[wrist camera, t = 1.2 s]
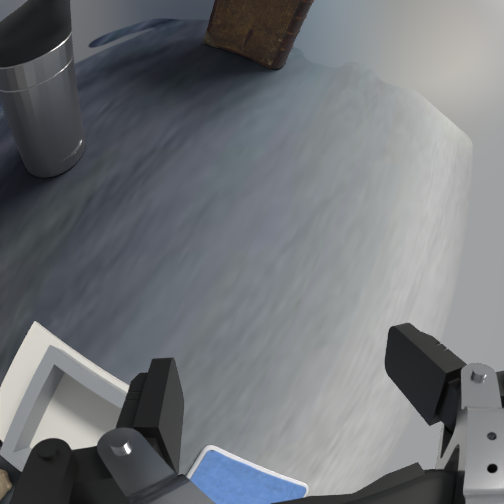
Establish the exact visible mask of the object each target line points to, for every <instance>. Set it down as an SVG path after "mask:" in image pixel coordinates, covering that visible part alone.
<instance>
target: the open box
mask: <svg viewBox="0 0 504 504" xmlns="http://www.w3.org/2000/svg"><path fill="white" fill-rule="evenodd" d="M128 389H129V385H127V384H126V383H124V382H122V381H121V380H119V379H117V378H116V377H114V376H113V375H111V374H109V373H108V372H106V371H105V370H103V369H102V368H100V367H98V366H97V365H95V364H94V363H92V362H91V361H89V360H88V359H86V358H85V357H84V356H82V355H81V354H79V353H78V352H76V351H75V350H73V349H72V348H71V347H69V346H68V345H67V344H65V343H64V342H62V341H61V340H60V339H58V338H57V337H56V336H54V335H53V334H52V333H50V332H49V331H48V330H47V329H45V328H44V327H43V326H41V325H40V324H39V323H37V322H36V321H34V323H33V325H32V326H31V328H30V330H29V332H28V334H27V335H26V337H25V339H24V341H23V343H22V345H21V347H20V348H19V350H18V352H17V354H16V356H15V358H14V360H13V362H12V364H11V366H10V368H9V370H8V372H7V374H6V376H5V379H4V381H3V383H2V385H1V387H0V440H1V441H2V442H3V445H2V447H1V450H0V455H1V456H2V457H4V458H5V459H6V460H7V461H8V462H9V463H11V464H12V465H13V466H14V467H16V468H17V469H18V470H19V471H21V472H22V471H23V468H24V466H25V464H26V461H27V459H28V457H29V454H30V452H31V450H32V448H33V447H34V446H35V445H36V444H37V443H39V442H40V441H42V440H45V439H48V438H58V439H62V440H64V441H65V442H67V443H68V445H69V446H70V448H71V449H72V450H74V449H81V448H87V447H93V446H97V443H98V441H99V439H100V438H101V436H103V435H104V434H105V433H107V432H108V431H110V430H113V429H115V428H116V424H117V421H118V418H119V415H120V412H121V410H122V407H123V404H124V401H125V398H126V395H127V393H128Z"/></svg>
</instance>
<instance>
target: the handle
mask: <svg viewBox="0 0 504 504" xmlns="http://www.w3.org/2000/svg"><path fill="white" fill-rule="evenodd" d="M11 488H12V483H11V482H10V480H9V477H8V473H7V472H6V471H5V470H1V469H0V500H1V499H2V498H3V497H4V496H5V494H6V493H7V492H8V490H10V489H11Z"/></svg>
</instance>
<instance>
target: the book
mask: <svg viewBox="0 0 504 504" xmlns="http://www.w3.org/2000/svg"><path fill="white" fill-rule="evenodd" d="M313 2H314V0H215V2H214V6H213V10H212V13H211V16H210V20H209V25H208V28H207V31H206V34H205V38H204V43H205V44H208V45H210V46H213V47H216V48H220V49H223V50H226V51H229V52H232V53H235V54H238V55H241V56H243V57H246V58H249V59H251V60H253V61H255V62H257V63H259V64H261V65H263V66H266V67H268V68H275V69H277V68H281V67H283V66H284V65H285V64H286V60H287V57H288V55H289V52H290V50H291V49H292V48H293V43H294V41H295V39H296V36H297V35H298V33H299V32H300V28H301V26H302V23H303V21H304V19H305V18H306V16H307V13H308V11H309V9H310V6H311V4H312V3H313Z"/></svg>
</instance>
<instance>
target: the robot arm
mask: <svg viewBox="0 0 504 504" xmlns="http://www.w3.org/2000/svg"><path fill="white" fill-rule="evenodd" d="M70 12H71V11H70V0H28V1H27V2H26V3H24V4H23V5H22V6H21V7H20V8H18V9H17V10H16V11H14V12H13V13H12V14H10V15H9V16H7V17H6V18H5V19H3V20H2V21H1V22H0V102H1V105H2V108H3V111H4V114H5V117H6V119H7V122H8V125H9V128H10V130H11V133H12V135H13V138H14V141H15V143H16V146H17V148H18V151H19V153H20V155H21V158H22V160H23V162H24V165H25V167H26V169H27V170H28V172H29V173H31V174H32V175H34V176H37V177H43V178H46V177H53V176H56V175H59V174H61V173H63V172H65V171H67V170H68V169H70V168H71V167H72V166H73V165H75V164H76V163H77V162H78V160H79V159H80V158H81V156H82V154H83V152H84V149H85V136H84V131H83V125H82V118H81V112H80V106H79V99H78V92H77V84H76V75H75V66H74V55H73V44H72V28H71V13H70ZM385 369H386V372H387V374H388V376H389V377H390V378H391V379H392V381H393V382H394V383H395V384H396V385H397V387H398V388H399V389H400V390H401V391H402V393H403V394H404V395H405V396H406V398H407V399H408V400H409V401H410V402H411V404H412V405H413V406H414V407H415V409H416V410H417V411H418V412H419V414H421V416H422V417H423V418H424V419H425V421H426V422H427V423H428V425H429V426H430V425H433V424H435V423H437V422H440V421H442V422H443V425H442V428H441V433H440V441H439V448H438V455H437V462H436V467H435V469H429V470H423V469H422V468H421V466H420V465H419V463H418V462H417V463H414V464H412V465H410V466H407V467H405V468H402V469H400V470H397V471H394V472H392V473H389V474H386V475H385V476H383V477H381V478H380V479H378V480H376V481H375V482H373V483H371V484H370V485H368V486H366V487H364V488H363V489H361V490H359V491H357V492H355V493H352V494H344V495H327V496H308V497H304V498H299V499H293V500H288V501H282V502H276V503H271V504H504V371H500V372H495V371H494V370H493V369H492V368H491V367H489V366H487V365H485V364H481V363H471V364H468V365H467V364H466V363H465V362H463V361H462V360H461V359H460V358H459V357H457V356H456V355H455V354H454V353H452V352H451V351H450V350H449V349H446V347H445V346H444V345H443V344H440V342H439V341H438V340H436V339H435V338H434V337H433V336H431V335H428V334H426V333H423V332H420V331H419V330H418V329H417V328H415V327H414V326H413V325H412V324H410V323H404V324H400V325H396V326H392V327H391V328H390V329H389V332H388V340H387V348H386V355H385ZM183 413H184V398H183V392H182V388H181V384H180V380H179V376H178V371H177V367H176V363H175V360H174V358H157V359H152V361H151V365H150V368H149V371H148V373H139V374H138V375H137V376H136V377H135V378H134V379H133V380H132V381H131V384H130V386H129V389H128V393H127V395H126V398H125V401H124V404H123V407H122V410H121V412H120V415H119V418H118V421H117V424H116V428H115V429H113V430H110V431H108V432H107V433H105V434H104V435H103V436H101V438H100V439H99V441H98V443H97V446H93V447H87V448H81V449H74V450H72V449H71V448H70V446H69V445H68V443H67V442H65V441H64V440H62V439H58V438H48V439H45V440H42V441H40V442H39V443H37V444H36V445H35V446H34V447H33V448H32V450H31V452H30V454H29V457H28V459H27V461H26V464H25V466H24V468H23V471H22V473H21V475H20V478H19V480H18V483H17V485H16V488H15V490H14V493H13V496H12V498H11V501H10V504H216V503H214V502H213V501H212V500H211V499H210V498H209V497H208V496H207V495H206V494H204V493H203V492H202V491H201V490H200V489H199V488H198V487H197V486H196V485H195V484H194V483H193V482H192V481H191V480H190V479H189V478H187V477H186V476H185V475H183V474H181V475H178V473H179V460H180V447H181V435H182V424H183Z"/></svg>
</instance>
